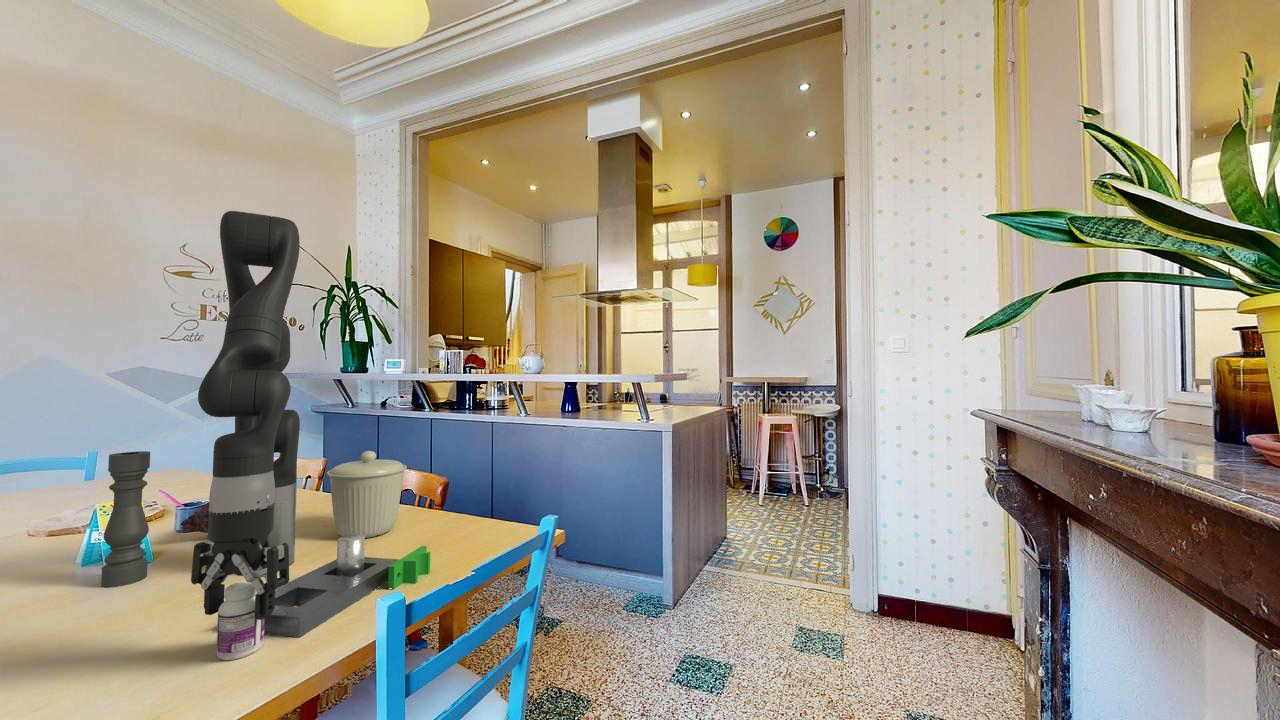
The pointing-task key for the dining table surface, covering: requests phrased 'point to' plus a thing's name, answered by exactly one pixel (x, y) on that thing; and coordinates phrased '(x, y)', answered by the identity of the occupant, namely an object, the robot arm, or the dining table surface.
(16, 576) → the dining table surface
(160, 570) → the dining table surface
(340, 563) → the clear glass cylinder
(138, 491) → the candle holder
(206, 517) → the pine cone
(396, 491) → the canister
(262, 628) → the pill bottle
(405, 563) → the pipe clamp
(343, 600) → the hole plate
